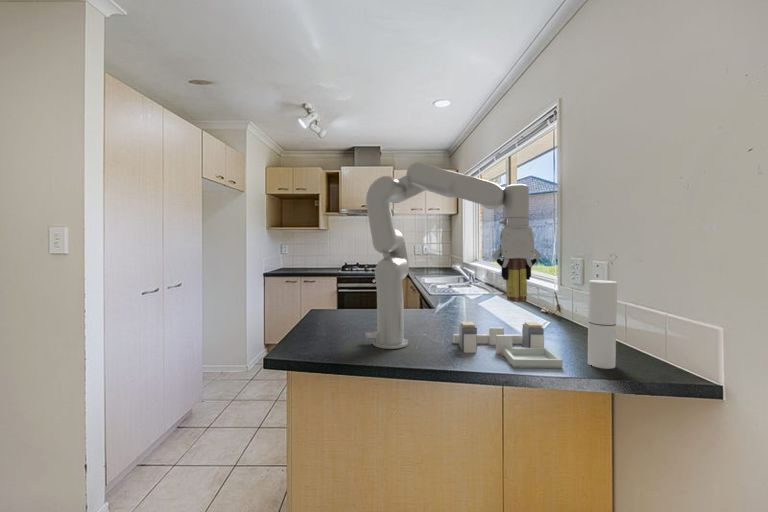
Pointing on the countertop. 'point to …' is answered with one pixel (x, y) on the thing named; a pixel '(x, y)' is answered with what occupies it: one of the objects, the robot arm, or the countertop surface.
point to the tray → (532, 358)
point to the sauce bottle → (516, 280)
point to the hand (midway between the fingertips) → (516, 278)
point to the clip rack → (498, 337)
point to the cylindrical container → (602, 323)
